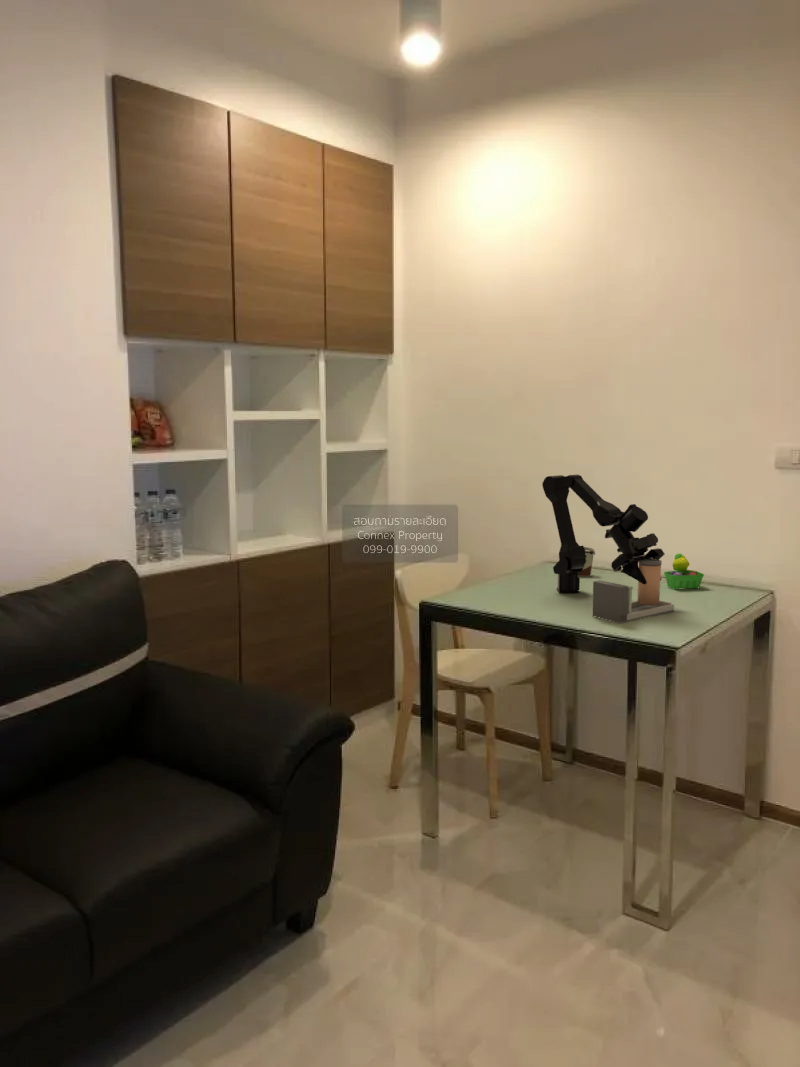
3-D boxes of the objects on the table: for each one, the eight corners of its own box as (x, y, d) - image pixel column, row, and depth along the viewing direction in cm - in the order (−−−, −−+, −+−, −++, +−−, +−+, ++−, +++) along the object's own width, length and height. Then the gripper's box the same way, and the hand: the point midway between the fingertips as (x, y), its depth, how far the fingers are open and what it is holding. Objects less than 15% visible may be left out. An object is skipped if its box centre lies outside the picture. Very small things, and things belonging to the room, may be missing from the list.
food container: (592, 573, 321) (593, 546, 319) (594, 576, 315) (595, 549, 313) (558, 572, 322) (559, 546, 320) (560, 576, 316) (560, 549, 314)
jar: (634, 603, 262) (636, 561, 260) (640, 599, 268) (642, 557, 266) (656, 606, 259) (658, 563, 257) (661, 601, 265) (663, 559, 263)
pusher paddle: (628, 616, 253) (629, 587, 251) (608, 611, 259) (609, 583, 258) (631, 616, 254) (632, 586, 252) (611, 611, 260) (612, 582, 258)
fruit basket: (672, 590, 291) (674, 557, 289) (660, 585, 299) (662, 553, 298) (704, 589, 292) (706, 556, 291) (691, 584, 301) (693, 551, 299)
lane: (619, 623, 249) (621, 587, 247) (592, 616, 257) (593, 581, 256) (673, 611, 262) (675, 577, 261) (646, 604, 271) (647, 571, 269)
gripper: (620, 527, 258) (648, 570, 251) (660, 522, 268) (689, 563, 261) (599, 550, 265) (626, 592, 258) (639, 544, 276) (666, 584, 269)
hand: (652, 582), depth 261 cm, fingers closed on jar, 6 cm apart
